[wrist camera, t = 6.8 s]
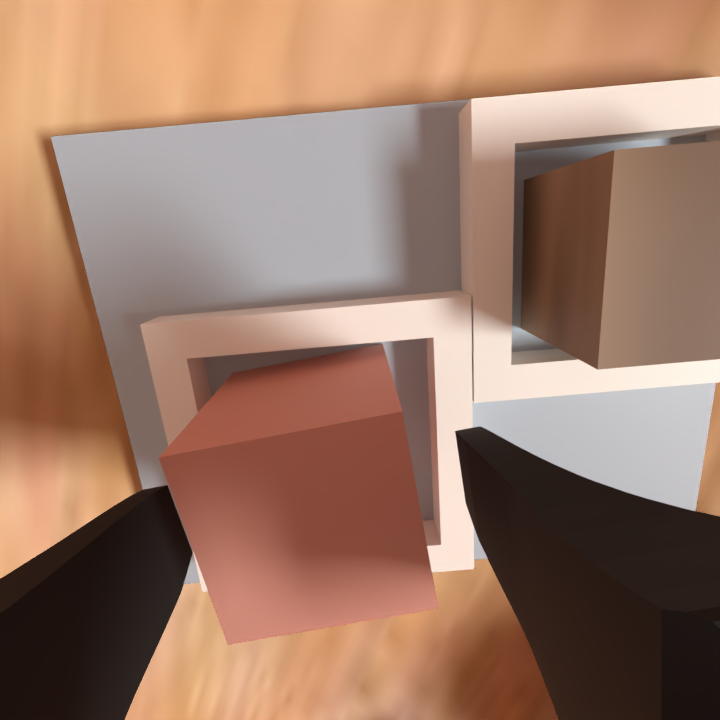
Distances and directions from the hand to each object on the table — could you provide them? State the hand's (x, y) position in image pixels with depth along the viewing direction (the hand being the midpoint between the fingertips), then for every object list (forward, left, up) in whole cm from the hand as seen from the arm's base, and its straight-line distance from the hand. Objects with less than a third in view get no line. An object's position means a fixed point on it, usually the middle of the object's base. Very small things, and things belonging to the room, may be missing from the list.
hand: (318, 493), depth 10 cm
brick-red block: (0, 0, -3) cm, 3 cm away
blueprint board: (-3, -2, -4) cm, 5 cm away
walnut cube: (-8, -5, -3) cm, 10 cm away
